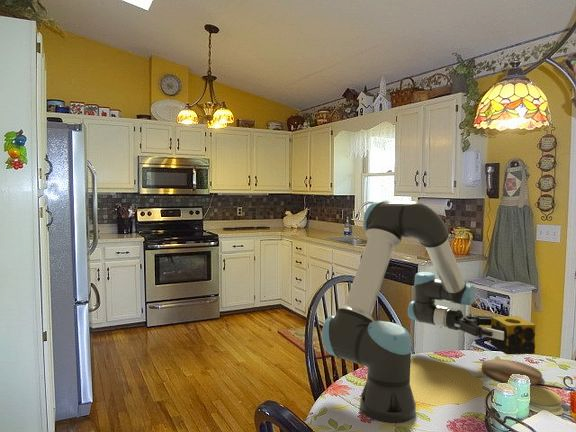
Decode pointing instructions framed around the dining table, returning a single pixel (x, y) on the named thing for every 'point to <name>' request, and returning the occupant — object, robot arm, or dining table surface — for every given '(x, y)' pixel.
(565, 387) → the dining table surface
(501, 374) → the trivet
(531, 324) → the yellow spotted cube
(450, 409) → the dining table surface
